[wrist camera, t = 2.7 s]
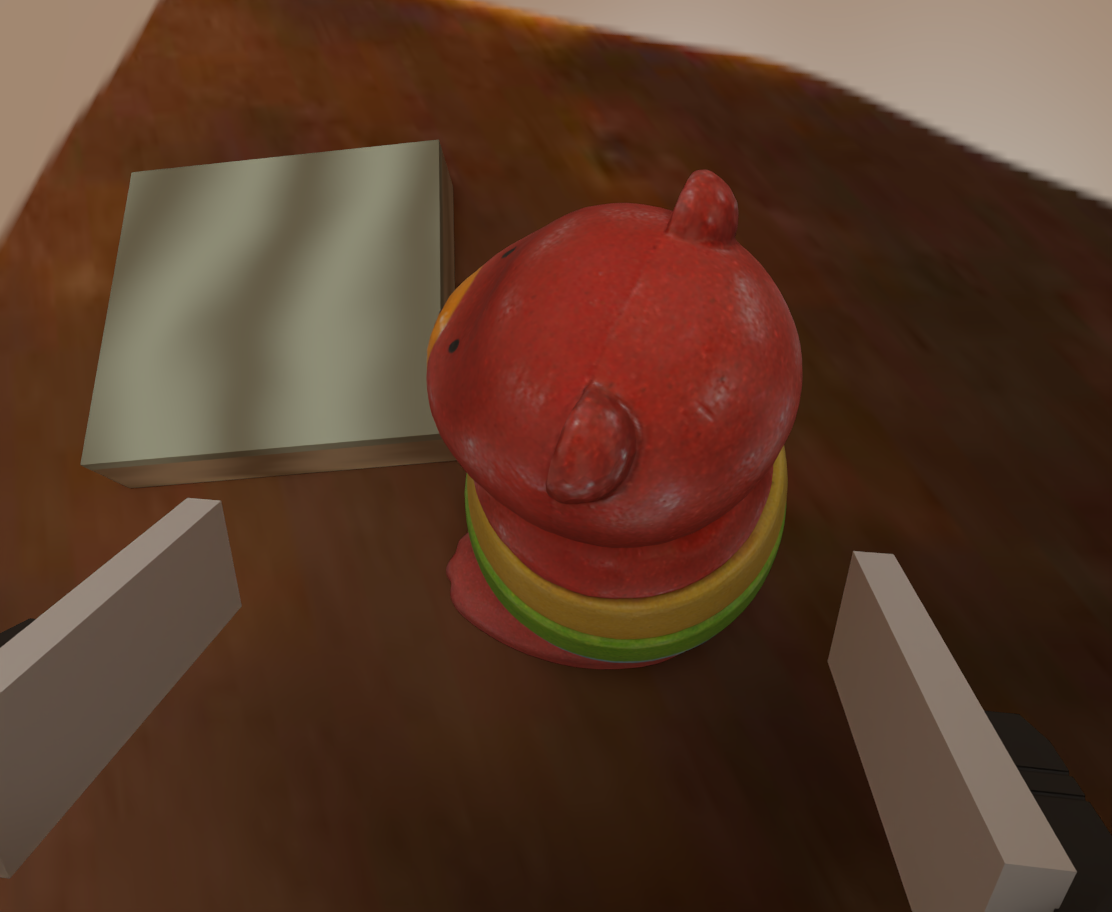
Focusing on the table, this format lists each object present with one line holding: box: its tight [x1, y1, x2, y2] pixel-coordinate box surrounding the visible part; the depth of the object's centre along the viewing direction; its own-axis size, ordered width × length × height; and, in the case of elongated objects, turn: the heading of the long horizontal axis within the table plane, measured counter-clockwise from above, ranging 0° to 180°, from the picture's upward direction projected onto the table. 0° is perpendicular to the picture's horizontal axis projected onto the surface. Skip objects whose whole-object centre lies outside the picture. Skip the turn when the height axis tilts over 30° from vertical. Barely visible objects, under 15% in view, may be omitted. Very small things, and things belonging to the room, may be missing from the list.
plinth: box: [81, 140, 456, 488], centre depth 31 cm, size 14×14×3 cm
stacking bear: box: [426, 170, 802, 669], centre depth 20 cm, size 11×10×18 cm
